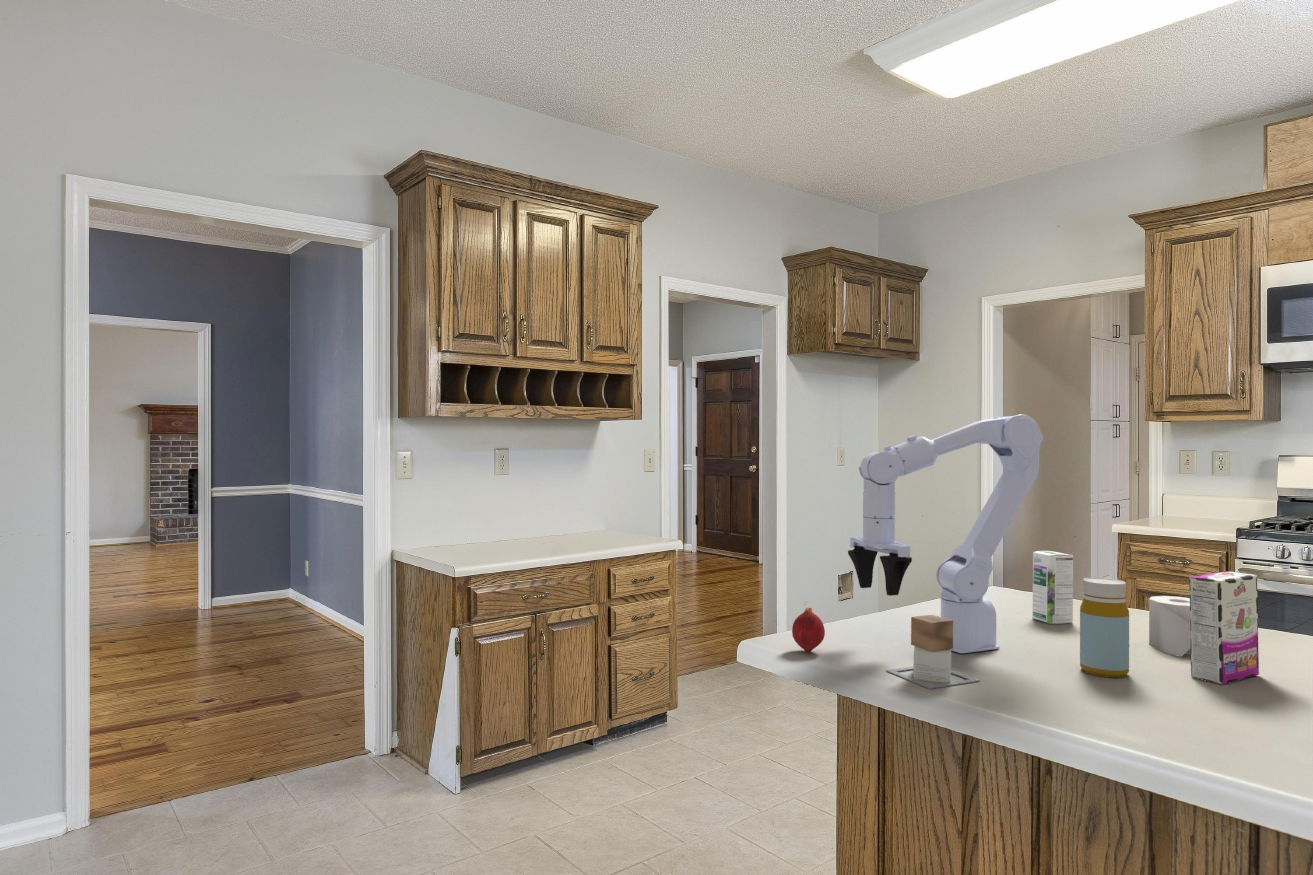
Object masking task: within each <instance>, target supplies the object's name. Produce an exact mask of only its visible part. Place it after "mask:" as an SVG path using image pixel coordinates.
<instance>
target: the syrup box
mask: <svg viewBox="0 0 1313 875" xmlns="http://www.w3.org/2000/svg"><path fill="white" fill-rule="evenodd" d="M1073 612H1074V555H1073V554H1067V553H1062V552H1058V551H1051V550H1037V551H1033V553H1032V613H1031V617H1032V620H1037V621H1041V622H1043V623H1046V624H1049V625H1061V624H1073V622H1074V620H1073V619H1074V617H1073V616H1074V615H1073V614H1074V613H1073Z"/></svg>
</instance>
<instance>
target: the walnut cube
mask: <svg viewBox="0 0 1313 875" xmlns="http://www.w3.org/2000/svg"><path fill="white" fill-rule="evenodd" d="M910 618H911V621H910V622H911V623H910V645H911V646H913V647H915V646H916V647H919V648H922V649H925V650H928V651H931V652H933V651H940V650H947V649H953V620H950V619H946V618H942V617H941V616H938V615H935V614H927V615H925V614H924V615H919V616H911V617H910Z"/></svg>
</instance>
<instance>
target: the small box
mask: <svg viewBox="0 0 1313 875" xmlns="http://www.w3.org/2000/svg"><path fill="white" fill-rule="evenodd" d="M913 647H914V649H913V666H912V667H913V670H912V673H913V677H912V678H914V679H916V680H918V681H921V682H925V681H926V682H933V683H940V684H942V683H948V682H951V679H952V678H951V675H952V674H951V670H952V650H951V649H947V650H940V651H933V652H931V651H928V650H925V649H922V648H919V647H916V646H913Z"/></svg>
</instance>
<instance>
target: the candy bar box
mask: <svg viewBox="0 0 1313 875" xmlns="http://www.w3.org/2000/svg"><path fill="white" fill-rule="evenodd" d="M1188 580H1189V584H1188V585H1189V598H1190V637H1191V654H1190V676H1191V677H1192V678H1194V679H1196V678H1199V679H1198V680H1200V679H1203V680H1202V681H1204V680H1206V681H1205V682H1209V683H1213V682H1214V684H1217V683H1218V685H1222V684H1223V685H1226V683H1227V684H1230V683H1229V682H1231V683H1233V682H1238V681H1241V680H1245V678H1246V679H1249V678H1252V677H1256V676H1258V675H1260V671H1259V670H1260V669H1259V668H1260V666H1259V665H1260V662H1259V657H1260V656H1259V653H1260V652H1259V617H1258V616H1259V612H1258V611H1259V610H1258V606H1259V605H1258V575H1257V574H1252V573H1245V572H1239V571H1237V572H1236V571H1221V572H1213V573H1207V574H1201V575H1195V576H1189V578H1188Z"/></svg>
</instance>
